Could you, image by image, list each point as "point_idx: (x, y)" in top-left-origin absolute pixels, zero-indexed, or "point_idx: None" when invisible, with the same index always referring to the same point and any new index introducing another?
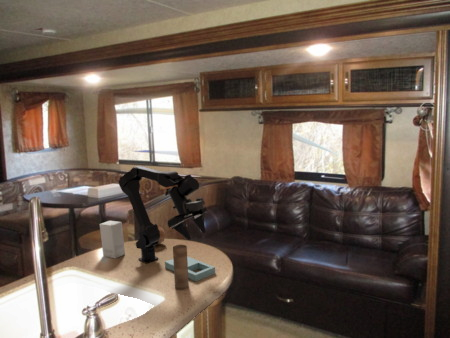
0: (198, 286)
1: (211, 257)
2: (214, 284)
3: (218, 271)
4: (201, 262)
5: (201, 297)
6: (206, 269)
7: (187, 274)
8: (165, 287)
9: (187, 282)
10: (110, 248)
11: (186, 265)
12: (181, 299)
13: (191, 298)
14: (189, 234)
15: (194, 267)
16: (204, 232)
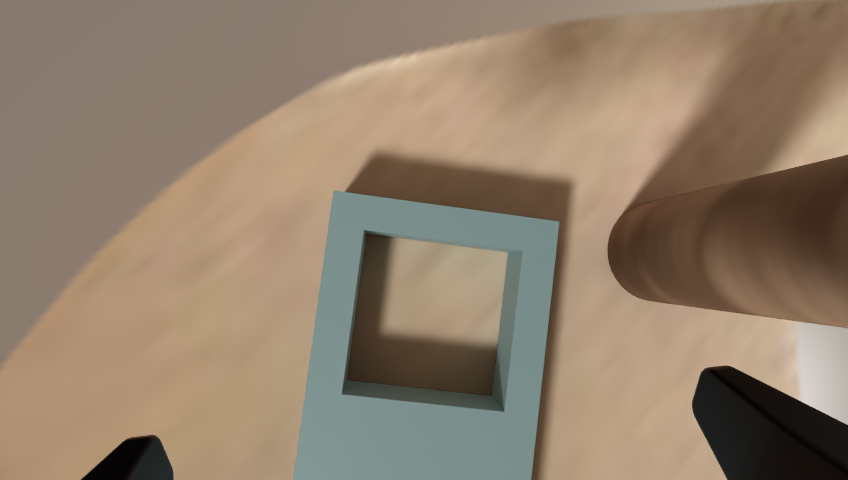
0: (583, 154)
1: (71, 468)
2: (494, 79)
3: (295, 200)
4: (319, 373)
5: (683, 32)
6: (417, 221)
7: (701, 190)
8: (730, 341)
9: (666, 198)
10: None
11: (783, 170)
12: (775, 122)
13: (729, 77)
14: (804, 432)
15: (390, 391)
16: (159, 444)
